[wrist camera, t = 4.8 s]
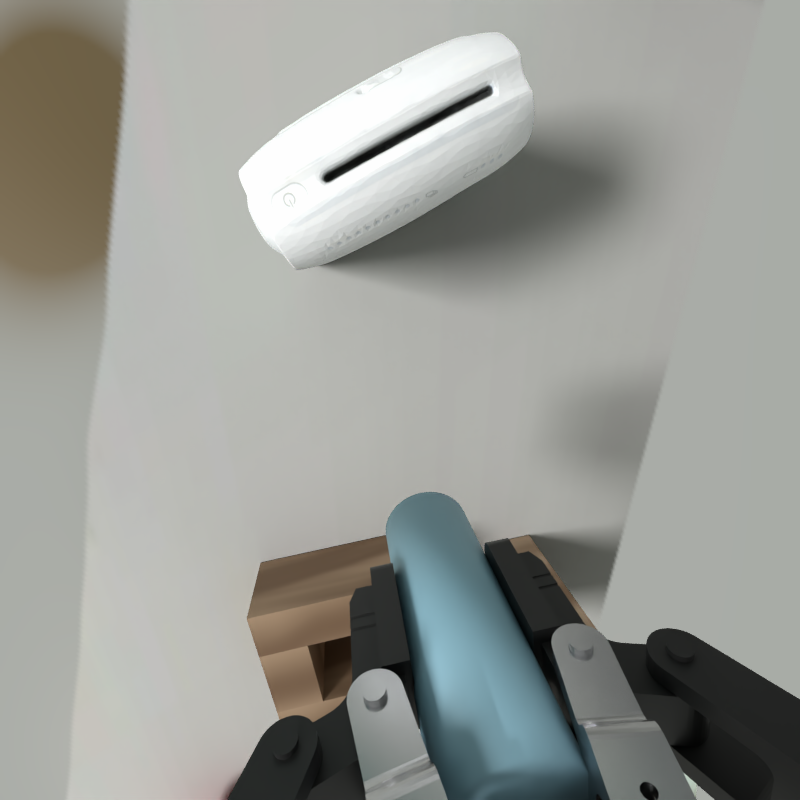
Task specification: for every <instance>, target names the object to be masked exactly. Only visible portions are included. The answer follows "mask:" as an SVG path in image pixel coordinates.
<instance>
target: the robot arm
mask: <svg viewBox="0 0 800 800" xmlns="http://www.w3.org/2000/svg"><path fill="white" fill-rule="evenodd" d="M485 556H486V558H487V560H488V562H489V564H490V566H491V568H492V570H493V572H494V574H495V576H496V578H497V580H498V582H499V584H500V586H501V588H502V590H503V592H504V595H505V597H506V599H507V601H508V603H509V605H510V607H511V609H512V611H513V613H514V615H515V617H516V619H517V621H518V623H519V625H520V627H521V629H522V631H523V633H524V635H525V637H526V639H527V641H528V643H529V645H530V647H531V649H532V651H533V653H534V656H535V657H536V659H537V661H538V664H539V666H540V668H541V670H542V672H543V674H544V676H545V678H546V680H547V682H548V684H549V686H550V688H551V690H552V692H553V694H554V696H555V698H556V700H557V702H558V704H559V706H560V708H561V710H562V712H563V714H564V716H565V718H566V720H567V722H568V724H569V727H570V729H571V731H572V733H573V735H574V737H575V739H576V741H577V743H578V745H579V748H580V753H581V755H582V758H583V760H584V763H585V765H586V768H587V771H588V798H589V800H696V797H695V795H694V793H693V791H692V789H691V787H690V785H689V783H688V781H687V779H686V777H685V775H684V774H686V775H687V776H688V777H689V778H690V779H691V780H693V781H694V782H695V783H696V784H697V785H698V786H700V787H701V788H702V789H703V790H704V791H706V792H707V793H708V794H709V795H710V796H711V797H713V798H714V799H715V800H800V699H798V698H797V697H795V696H793V695H792V694H790V693H788V692H786V691H785V690H783V689H782V688H780V687H778V686H777V685H775V684H773V683H772V682H770V681H768V680H767V679H765V678H763V677H762V676H760V675H758V674H757V673H755V672H753V671H752V670H750V669H748V668H747V667H745V666H743V665H742V664H740V663H739V662H737V661H735V660H734V659H732V658H730V657H729V656H727V655H725V654H724V653H722V652H720V651H719V650H717V649H715V648H713V647H712V646H710V645H709V644H707V643H705V642H704V641H702V640H700V639H699V638H697V637H695V636H694V635H692V634H690V633H687V632H684V631H681V630H677V629H670V628H666V629H659V630H656V631H654V632H653V633H651V634H650V636H649V637H648V639H647V643H646V644H629V643H619V642H613V641H610V640H607V639H606V638H605V637H604V635H602V634H601V633H600V632H599V631H597V630H596V629H594V628H592V627H590V626H587V625H585V623H584V622H583V620H582V619H581V617H580V616H579V614H578V613H577V611H576V610H575V608H574V607H573V605H572V604H571V602H570V601H569V599H568V598H567V597H566V595H565V594H564V592H563V591H562V589H561V588H560V586H558V584H557V582H556V580H555V579H554V577H553V576H552V575H551V573H550V571H549V570H548V568H547V567H546V565H545V564H544V562H543V561H542V560H541V559H539V558H538V557H537V556H535V555H534V554H532V553H531V552H529V551H527V552H523V553H517V551H516V550H515V548H514V546H513V545H512V543H511V541H510V540H509V539H508V538H506V539H501V540H497V541H492V542H487V543H485ZM370 574H371V584H372V585H370V586H365V587H361V588H356V589H355V591H354V594H353V596H352V598H351V600H350V603H349V604H350V629H351V657H352V683H351V687H350V689H349V691H348V694H347V696H346V697H345V699H344V700H343V701H342V703H341V704H340V705H339V706H338V707H337V708H335V709H334V710H333V711H331V712H330V713H328V714H326V715H325V716H323V717H321V718H320V719H318V720H316V721H315V722H312V721H311V720H310V719H308V718H307V717H304V716H300V715H292V716H288V717H285V718H283V719H280V720H279V721H277V722H276V723H274V724H273V725H272V726H271V727H270V728H269V729H268V730H267V731H266V732H265V733H264V734H263V736H262V737H261V739H260V741H259V742H258V744H257V746H256V748H255V750H254V752H253V754H252V755H251V757H250V759H249V761H248V763H247V765H246V767H245V768H244V770H243V772H242V774H241V776H240V778H239V780H238V781H237V783H236V785H235V787H234V789H233V791H232V793H231V794H230V796H229V798H228V800H448V799H447V796H446V793H445V791H444V788H443V785H442V782H441V780H440V777H439V774H438V772H437V769H436V767H435V765H434V763H433V762H431V761H430V759H429V756H428V753H427V751H426V748H425V745H424V742H423V739H422V737H421V734H420V731H419V729H420V727H419V721H418V715H417V709H416V704H415V698H414V684H415V683H414V677H413V672H412V666H411V661H410V655H409V650H408V644H407V639H406V633H405V628H404V622H403V617H402V611H401V606H400V601H399V595H398V590H397V584H396V579H395V573H394V568H393V563H389V564H384V565H379V566H375V567H370Z"/></svg>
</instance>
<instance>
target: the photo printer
mask: <svg viewBox="0 0 800 800" xmlns="http://www.w3.org/2000/svg"><path fill="white" fill-rule="evenodd" d="M533 124H534V98H533V91H532V89H531V88H530V86H529V84H528V82H527V80H526V77H525V74H524V71H523V67H522V61H521V55H520V52H519V50H518V49H517V47H516V46H515V45H514V44H513V43H512V42H511V41H510V40H509V39H508V38H507V37H506V36H504V35H503V34H501V33H497V32H489V33H481V34H475V35H470V36H461V37H457V38H455V39H452V40H449V41H447V42H444V43H442V44H440V45H437V46H435V47H432V48H430V49H428V50H426V51H423V52H421V53H419V54H417V55H415V56H413V57H410V58H408V59H406V60H404V61H402V62H400V63H398V64H396V65H394V66H392V67H390V68H388V69H386V70H384V71H382V72H380V73H378V74H376V75H374V76H372V77H370V78H369V79H367V80H365V81H363V82H361V83H359V84H358V85H356V86H354V87H352V88H350V89H348V90H347V91H345V92H343V93H341V94H340V95H338V96H336V97H334V98H333V99H331V100H329V101H327V102H326V103H324V104H322V105H321V106H319V107H318V108H316V109H314V110H313V111H311V112H309V113H308V114H306V115H304V116H303V117H301V118H300V119H298V120H297V121H295V122H294V123H292V124H291V125H289V126H288V127H286V128H284V129H283V130H282V131H280V132H279V133H278V135H277V136H276V137H275V138H273V139H271V140H270V141H269V142H267V143H266V144H265V145H264V146H263V147H262V148H260V149H259V150H258V151H257V152H256V153H255V154H254V155H253V156H252V157H251V158H250V159H249V160H248V161H247V162H246V163H245V165H244V166H243V167H242V168H241V169H240V171H239V177H240V180H241V183H242V185H243V187H244V190H245V192H246V194H247V201H248V208H249V211H250V214H251V216H252V219H253V221H254V223H255V225H256V227H257V229H258V230H259V232H260V233H261V235H262V237H263V238H264V239H265V241H266V242H267V243H268V244H269V245H270V246H271V247H272V248H273V249H274V250H276V251H277V252H279V253H281V254H282V255H284V256H285V257H286V259H287V260H288V261H289V263H290V264H291V265H292V267H293V268H294V269H296V270H301V269H307V268H311V267H315V266H319V265H322V264H326V263H329V262H331V261H334V260H336V259H338V258H341V257H343V256H345V255H347V254H349V253H351V252H353V251H355V250H357V249H359V248H361V247H363V246H366V245H368V244H370V243H372V242H374V241H376V240H377V239H379V238H381V237H383V236H385V235H387V234H389V233H391V232H393V231H395V230H396V229H398V228H400V227H402V226H404V225H406V224H407V223H409V222H411V221H413V220H414V219H416V218H418V217H420V216H421V215H423V214H425V213H427V212H428V211H430V210H432V209H433V208H435V207H437V206H438V205H440V204H442V203H443V202H445V201H446V200H448V199H450V198H451V197H453V196H455V195H456V194H458V193H459V192H461V191H463V190H464V189H466V188H468V187H469V186H471V185H473V184H475V183H476V182H478V181H480V180H481V179H483V178H485V177H486V176H488V175H490V174H491V173H493V172H494V171H496V170H497V169H499V168H500V167H502V166H503V165H504V164H506V163H507V162H508V161H509V160H510V159H512V158H513V157H514V156H515V155H516V154H517V153H518V152H519V151H520V150H521V149H522V148H523V147H524V146H525V145H526V144H527V142H528V140H529V138H530V136H531V133H532V129H533Z"/></svg>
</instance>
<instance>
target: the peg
mask: <svg viewBox="0 0 800 800" xmlns="http://www.w3.org/2000/svg"><path fill="white" fill-rule="evenodd" d="M386 538H387V544H388V550H389V556H390V561H391V563H393V568H394V573H395V579H396V584H397V590H398V595H399V601H400V606H401V611H402V617H403V622H404V628H405V633H406V639H407V644H408V650H409V655H410V661H411V666H412V672H413V677H414V683H415V684H414V698H415V704H416V709H417V715H418V721H419V727H420V732H421V737H422V739H423V742H424V745H425V748H426V751H427V753H428V756H429V759H430V761H431V762H433V763H434V765H435V767H436V769H437V772H438V774H439V777H440V780H441V782H442V785H443V788H444V791H445V793H446V796H447V799H448V800H589V798H588V771H587V768H586V765H585V763H584V760H583V758H582V755H581V753H580V748H579V745H578V743H577V741H576V739H575V737H574V735H573V733H572V731H571V729H570V727H569V724H568V722H567V720H566V718H565V716H564V714H563V712H562V710H561V708H560V706H559V704H558V702H557V700H556V698H555V696H554V694H553V692H552V690H551V688H550V686H549V684H548V682H547V680H546V678H545V676H544V674H543V672H542V670H541V668H540V666H539V664H538V661H537V659H536V657H535V656H534V653H533V651H532V649H531V647H530V645H529V643H528V641H527V639H526V637H525V635H524V633H523V631H522V629H521V627H520V625H519V623H518V621H517V619H516V617H515V615H514V613H513V611H512V609H511V607H510V605H509V603H508V601H507V599H506V597H505V595H504V592H503V590H502V588H501V586H500V584H499V582H498V580H497V578H496V576H495V574H494V572H493V570H492V568H491V566H490V564H489V562H488V560H487V558H486V556H485V554H484V552H483V550H482V548H481V546H480V544H479V542H478V540H477V538H476V535H475V533H474V531H473V529H472V527H471V525H470V523H469V521H468V519H467V517H466V515H465V513H464V511H463V509H462V507H461V506H460V505H459V504H458V503H457V502H456V501H455V500H454V499H452V498H451V497H449V496H447V495H445V494H441V493H437V492H424V493H419V494H415V495H413V496H410V497H408V498H407V499H405V500H403V501H402V502H401V503H400V504H398V505H397V506H396V507H395V509H394V510H393V511H392V513H391V514H390V516H389V518H388V521H387V525H386Z"/></svg>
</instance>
